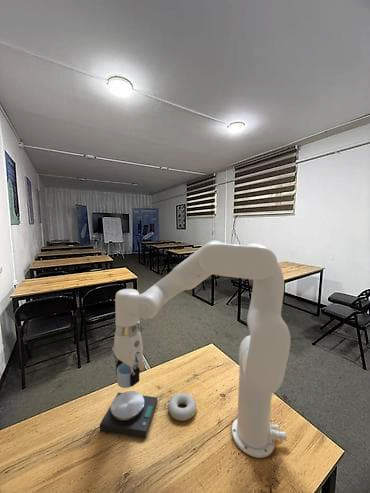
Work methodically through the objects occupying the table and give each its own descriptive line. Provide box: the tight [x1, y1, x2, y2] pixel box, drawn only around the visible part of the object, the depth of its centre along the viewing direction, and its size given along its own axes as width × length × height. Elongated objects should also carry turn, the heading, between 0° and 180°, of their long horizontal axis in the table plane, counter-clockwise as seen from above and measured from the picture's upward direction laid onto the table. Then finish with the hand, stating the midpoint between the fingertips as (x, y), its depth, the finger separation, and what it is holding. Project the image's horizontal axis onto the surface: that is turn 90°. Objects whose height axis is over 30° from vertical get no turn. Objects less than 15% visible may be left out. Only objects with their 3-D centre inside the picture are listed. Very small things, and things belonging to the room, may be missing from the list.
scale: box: [99, 392, 158, 439], centre depth 71 cm, size 15×13×3 cm
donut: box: [167, 392, 197, 422], centre depth 74 cm, size 10×4×10 cm
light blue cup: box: [116, 363, 137, 389], centre depth 70 cm, size 7×7×4 cm
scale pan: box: [110, 390, 144, 420], centre depth 71 cm, size 11×11×1 cm
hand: (127, 377), depth 70 cm, fingers closed on light blue cup, 7 cm apart
